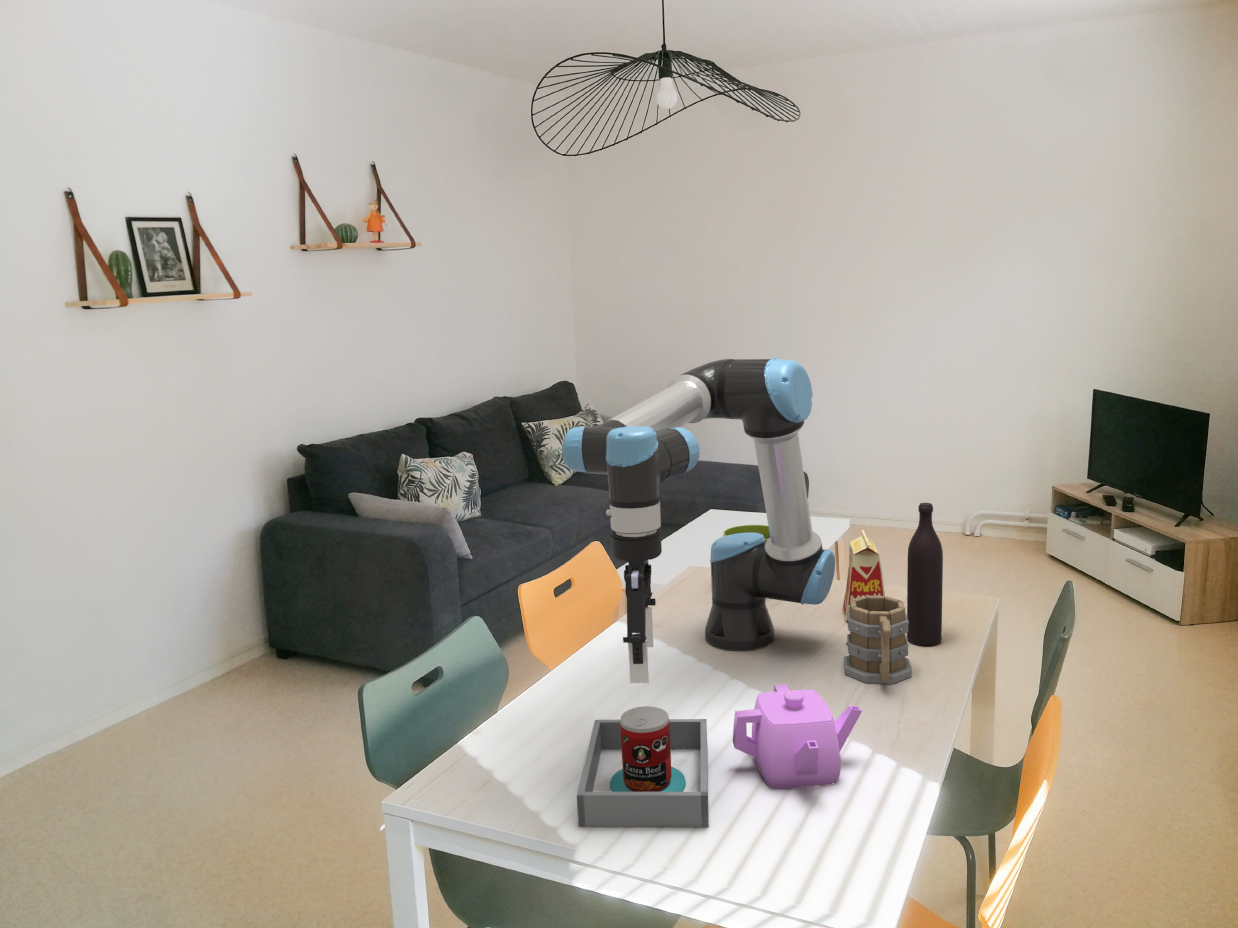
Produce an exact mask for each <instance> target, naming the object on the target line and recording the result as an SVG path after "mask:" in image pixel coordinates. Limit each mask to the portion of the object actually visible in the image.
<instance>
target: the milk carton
mask: <svg viewBox="0 0 1238 928" xmlns="http://www.w3.org/2000/svg"><path fill="white" fill-rule="evenodd" d="M861 533H862V535H861V536H858V537H857V538H855V539H853V540H851V541H850V542H849V545H848V546H849V547H848V548H849V550H848V552H849V553H848V569H847V577H846V578H847V579H846V586H845V593H844V597H843V598H844V599H843V602H842V608H841V612H842V615H844V616H843V618H844V622H845V623H846V620H847V612H848V611H850V601H851V600H853V599H856V598H859V597H862V596H885V597H886V592H885V585H884V577H883V571H882V564H881V558H880V553H879V551H878V550H877V546H876V545H875V543H874V542H873V541H872V540H871V539H869V538H868V537H867V535H866V533H865V530H864V529H861Z"/></svg>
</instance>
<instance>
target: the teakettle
mask: <svg viewBox="0 0 1238 928" xmlns="http://www.w3.org/2000/svg"><path fill="white" fill-rule="evenodd" d="M789 687H790V686H788V684H787V683H781V684H773V691H767V692H760V693H758V694H757V695H756V699H755V705H754V709H745V710H736V711H734V719H733V731H732V745H733V748H734V749H735V750H737V751H740V752H742V753H744V754H747V755H749V756H751V757H754V760H755V763H756V766H757V768H758V770H759V772H760V775H761V776H762V778H763V779H764V781H765V782H766V783H767V785H768V786H769V787H771V788H773V789H788V788H803V787H804V788H806V787H816V786H815V785H819V786H827V785H826V784H828V785H833V784H832V783H834V784H836V782H837V783H838V780H839V778H840V774H841V768H842V767H841V751H842V749H843V747H844V745H846V744H845V743H846V741H847V740H848V738H849V737H850V734H851V732H852V731H853V729H854V727H855V726H856V723H857V722H858V719H859V718H860V716H861V714H862V712H863V710H862V709H861V707H860V706H856V705H851V704H850V705H848V707H846V708H845V710H844V711H843V712H842V713H841V714H840V715H839V716H838V717H837V718H836V719H835V720H834V716H833V713H832V712H831V709H830V708H829V706H828V704H827V702H826V701H825V700H824V699H823V697H822V696H821V695H820V694H819V693H818V692H817V691H816V690H814V689H796V690H795V689H793V690H791V689H790V688H789ZM748 723H749V724H750V723H751V725H752V726H751V737H750V736H749V735H747V733H748V732H747V724H748Z"/></svg>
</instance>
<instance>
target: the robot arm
mask: <svg viewBox="0 0 1238 928" xmlns="http://www.w3.org/2000/svg"><path fill="white" fill-rule="evenodd" d="M812 399H813V388H812V384H811V379H810V377H809V374H808V372H807V370H806V369H805V368H804V366H803V365H802V364H800V363H799V362H798V361H796V360H793V359H782V358H778V357H775V358H774V357H773V358H757V359H755V358H754V359H753V358H748V359H747V358H745V359H741V358H740V359H739V358H738V359H737V358H736V359H734V358H723V359H719V360H718V359H717V360H714V361H710V362H707V363H705V364H701V365H699V366H696V367H693V368H692V369H689V370H688V371H686V372H684V373H682V374H680V375H678V376H676V377H675V378H673V379H672V380H671V381H670V382H669V384H668V386H667V388H665V389H663V390H661V391H660V392H658V393H656V394H653V395H652V396H650V397H648V398H646V399H645V400H643V401H641V402H639V403H637V404H635V405H634V406H632V407H630V408H628V409H626V410H624V411H623V412H620V413H619V414H616V415H615V416H613V417H611V418H610V419H608V420H606V421H604V422H602V423H600V424H598V425H597V426H592V427H590V426H585V425H584V426H578V427H577V426H575V427H573V428H571V429H569V430H568V431H567V433H566V434H565V436H564V438H563V439H562V443H561V453H562V459H563V462H564V464H565V465H566V468H568V469H569V470H571V471H574V472H579V473H585V474H596V475H597V474H598V475H607V480H608V481H607V482H608V492H609V493H608V495H609V498H608V499H609V500H608V501H609V509H606V511H605V515H606V516H608V517H609V516H610V528H611V529H610V530H612V533H611V534H610V540H611V554H612V556H613V557H614V558H615V559H616V560H618V561H625V562H627V563H628V564H627V565H625V567H624V568H625V569H624V571H623V579H624V580H623V581H624V582H625V597H626V636H623V637H622V641H623V642H622V643H627V644H628V645H627V647H628V664H629V666H628V667H629V681H630V682H629V683H630V684H648V683H650V676H649V675H650V673H649V656H648V655H649V654H648V648H654V630H653V611H652V610H653V609H652V608H653V607H654V606H656V601H657V600H656V598H652V597H653V592H652V589H651V588H652V587H651V586H652V585H651V584H652V564H650V563H649V561H651V560H655V559H656V558H659V557H660V556H661V554H662V553H663V552H662V547H663V546H662V533H661V531H660V528H661V526H662V525H661V524H662V519H661V517H662V516H661V501H660V486H659V485H660V484H661V483H664V482H666V481H669V480H671V479H673V478H674V479H675V478H678V477H680V476H683V475H685V474H686V473H687V472H689V471H691V470H692V469H693V468H694V467H695V466H696V465H697V463H698V461H699V459H700V451H701V450H700V445H699V442H698V440H697V437H696V436H695V435H694V434H693V433H692V432H691V431H690V430H688V429H687V428H684V427H683V426H685V425H686V424H697V423H700V422H701V421H703V420H707V419H723V420H725V419H726V420H727V419H728V420H739V421H740V420H741V421H742V425H743V430H744V431H743V432H744V433H745V435H746V436H747V437H749V438H751V439H752V440H753V442H754V448H755V454H756V460H757V467H758V473H759V478H760V483H761V484H760V485H761V490H762V496H763V501H764V508H765V513H766V519H767V526H769V532H770V538H769V539H768V540H767V542H766V543H765V538H764V536H763V535H762V534H760V533H738V534H732V535H728V536H724V535H723V536H721V537H718V539H715V540H714V541H713V543H712V544H711V546H710V559H709V563H710V578H711V579H710V580H711V600H712V601H711V608H710V610H709V611H710V612H709V613H708V617H707V622H706V625H705V626H704V627H705V628H704V629H705V630H704V634H705V637H704V638H705V640H706V642H707V643H708V644H709V645H711V646H713V647H715V648H718V649H721V650H726V651H728V650H729V651H751V650H752V651H753V650H757V649H758V650H759V649H762V648H765V647H768V645H771V644H772V643H773V642H774V640H775V627H774V623H773V621H772V618H771V615H770V613H769V610H768V608H767V603H766V599H769V600H777V601H781V602H782V601H784V602H789V603H797V604H801V605H815V606H816V605H820V604H822V603H823V602H824V601H825V600H826V598H827V597H828V595H829V593H830V590H831V587H832V584H833V580H834V577H835V570H836V557H835V553H834V552H833V551H832V550H829V549H826V548H825V549H823V543H822V538H821V536H820V535H819V534H818V533H816V532H814V530H813V527H812V521H811V513H810V512H811V511H810V507H809V501H808V500H809V499H808V492H807V486H806V479H805V473H804V465H803V460H802V458H803V457H802V451H801V446H800V438H799V437H800V436H799V432H800V431H801V429H802V428H803V427H804V425H805V421H806V420H807V419H808V417H809V416H810V415H811V412H812V408H813V401H812Z"/></svg>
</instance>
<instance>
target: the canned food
mask: <svg viewBox="0 0 1238 928" xmlns="http://www.w3.org/2000/svg"><path fill="white" fill-rule="evenodd" d="M619 718H620V719H619V720H620V732H621V749H622V750H621V764H622V768H623V780H624V782H625V785H626V787H627V788H628V789H630V790H631V791H633V792H659V791H661V790H663V789H664V788H666V787H667V786H668V785H669V783H670V780H671V776H672V775H671V766H672V755H671V754H672V753H671V750H672V749H670V726H669V719H670V716H669V713H668V712H667V711H666V710H664V708H660V707H658V706H650V705H649V706H647V705H646V706H637V707H633V708H630V709H628V710H626V711H624V712H623V713H622V714H621V715H620V717H619Z"/></svg>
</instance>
